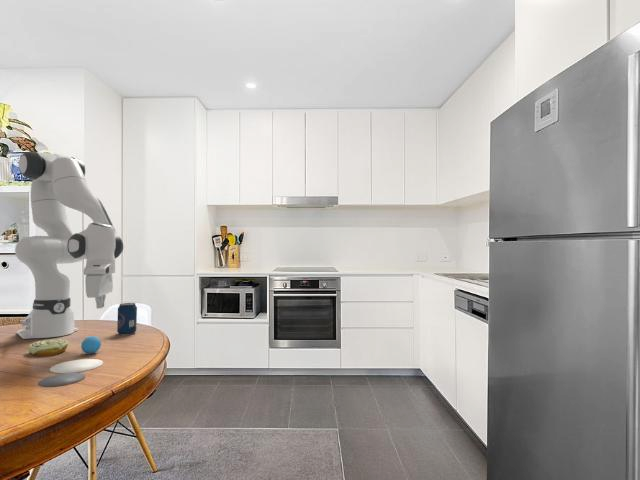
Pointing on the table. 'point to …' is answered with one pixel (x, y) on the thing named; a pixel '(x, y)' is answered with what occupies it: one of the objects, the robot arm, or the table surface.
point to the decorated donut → (48, 347)
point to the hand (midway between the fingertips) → (100, 307)
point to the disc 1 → (61, 379)
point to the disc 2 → (76, 366)
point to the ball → (91, 345)
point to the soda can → (127, 319)
